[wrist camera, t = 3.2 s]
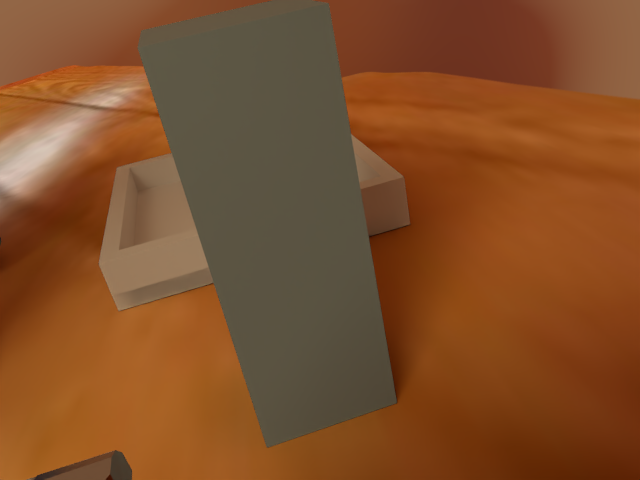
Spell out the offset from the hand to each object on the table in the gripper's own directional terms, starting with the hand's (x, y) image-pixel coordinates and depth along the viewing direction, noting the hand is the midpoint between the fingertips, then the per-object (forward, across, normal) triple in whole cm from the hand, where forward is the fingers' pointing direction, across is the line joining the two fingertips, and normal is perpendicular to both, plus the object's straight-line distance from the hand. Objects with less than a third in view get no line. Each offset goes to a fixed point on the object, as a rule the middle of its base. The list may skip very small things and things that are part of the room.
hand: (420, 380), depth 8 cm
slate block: (+12, 0, +10) cm, 16 cm away
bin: (+31, 0, +10) cm, 33 cm away
